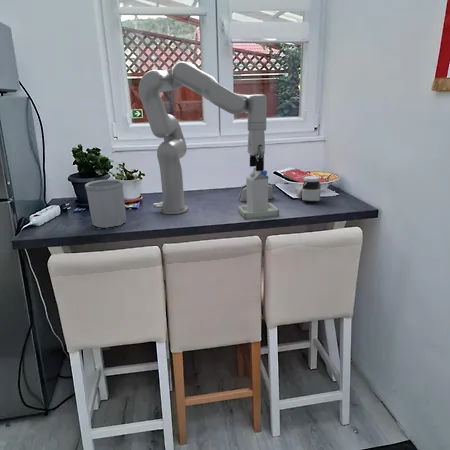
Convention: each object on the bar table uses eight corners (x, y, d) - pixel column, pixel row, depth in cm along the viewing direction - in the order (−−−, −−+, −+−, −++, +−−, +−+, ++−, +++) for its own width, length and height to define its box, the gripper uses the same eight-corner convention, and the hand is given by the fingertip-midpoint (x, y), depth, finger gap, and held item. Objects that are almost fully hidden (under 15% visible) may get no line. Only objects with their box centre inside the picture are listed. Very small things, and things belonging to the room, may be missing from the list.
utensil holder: (89, 221, 168) (83, 181, 163) (124, 216, 174) (119, 177, 168) (93, 231, 155) (86, 188, 150) (130, 225, 161) (125, 183, 155)
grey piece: (270, 195, 197) (272, 178, 191) (272, 201, 194) (275, 184, 187) (237, 198, 194) (239, 181, 188) (240, 204, 191) (241, 186, 184)
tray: (244, 219, 163) (244, 213, 162) (238, 211, 174) (237, 205, 174) (279, 215, 166) (279, 210, 165) (270, 208, 177) (270, 202, 176)
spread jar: (316, 205, 179) (317, 180, 175) (292, 203, 183) (293, 178, 180) (322, 198, 189) (323, 174, 185) (299, 196, 194) (300, 173, 190)
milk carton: (261, 209, 174) (261, 166, 168) (268, 213, 168) (268, 169, 162) (246, 211, 172) (245, 168, 166) (252, 215, 166) (252, 171, 159)
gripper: (242, 125, 165) (242, 165, 171) (253, 128, 149) (253, 173, 155) (259, 124, 167) (259, 164, 172) (272, 128, 151) (271, 172, 156)
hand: (256, 168), depth 164 cm, fingers open, 9 cm apart
